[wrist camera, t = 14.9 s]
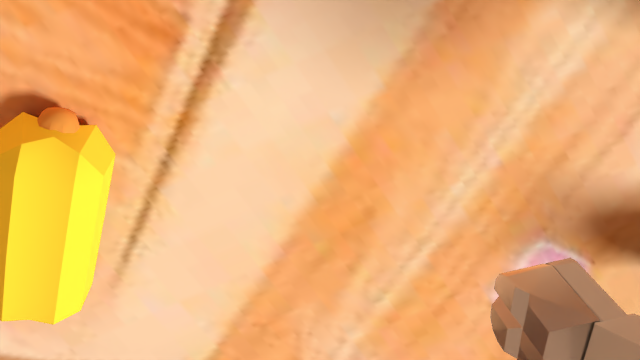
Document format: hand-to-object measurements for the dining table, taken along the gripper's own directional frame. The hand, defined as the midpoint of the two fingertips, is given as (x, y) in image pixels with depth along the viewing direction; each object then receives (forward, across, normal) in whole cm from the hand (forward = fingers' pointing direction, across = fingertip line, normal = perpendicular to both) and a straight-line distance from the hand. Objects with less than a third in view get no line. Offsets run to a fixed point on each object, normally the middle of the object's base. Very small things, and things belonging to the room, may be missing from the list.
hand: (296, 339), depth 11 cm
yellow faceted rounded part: (+32, +14, +15) cm, 38 cm away
